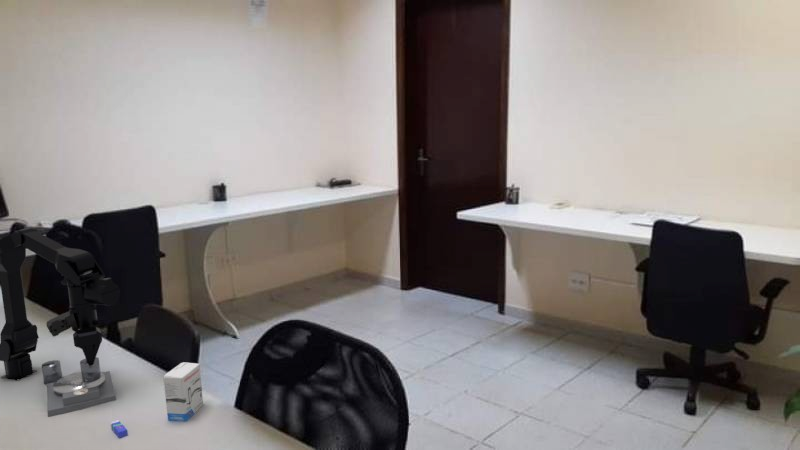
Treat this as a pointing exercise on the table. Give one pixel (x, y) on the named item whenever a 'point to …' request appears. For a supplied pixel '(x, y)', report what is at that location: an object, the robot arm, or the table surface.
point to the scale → (80, 397)
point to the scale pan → (75, 383)
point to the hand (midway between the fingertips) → (89, 358)
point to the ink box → (183, 391)
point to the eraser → (119, 429)
